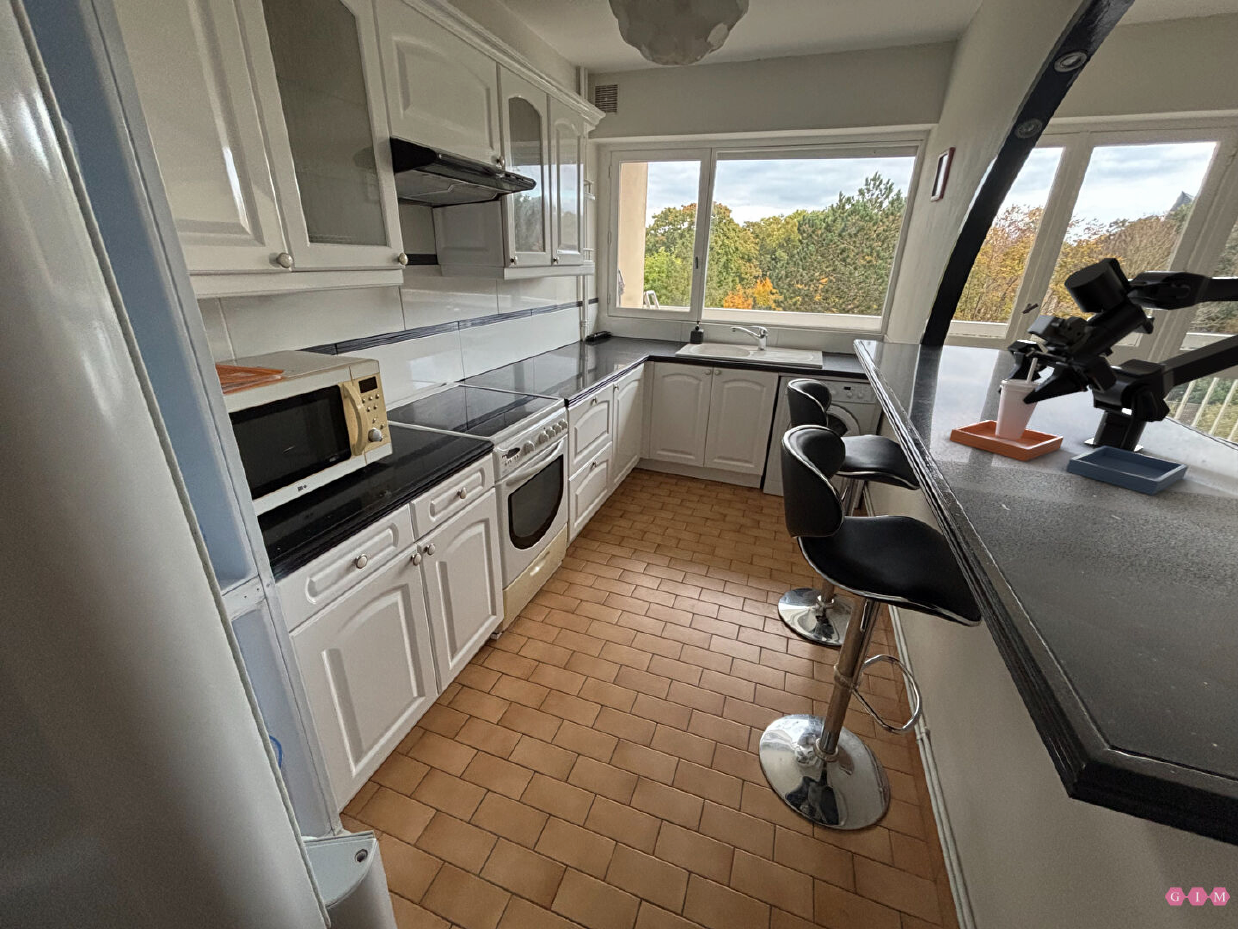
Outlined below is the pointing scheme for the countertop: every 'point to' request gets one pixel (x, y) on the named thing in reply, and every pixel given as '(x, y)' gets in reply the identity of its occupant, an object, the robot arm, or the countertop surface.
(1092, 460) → the blue tray
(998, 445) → the orange tray
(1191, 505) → the countertop surface
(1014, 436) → the smoothie
